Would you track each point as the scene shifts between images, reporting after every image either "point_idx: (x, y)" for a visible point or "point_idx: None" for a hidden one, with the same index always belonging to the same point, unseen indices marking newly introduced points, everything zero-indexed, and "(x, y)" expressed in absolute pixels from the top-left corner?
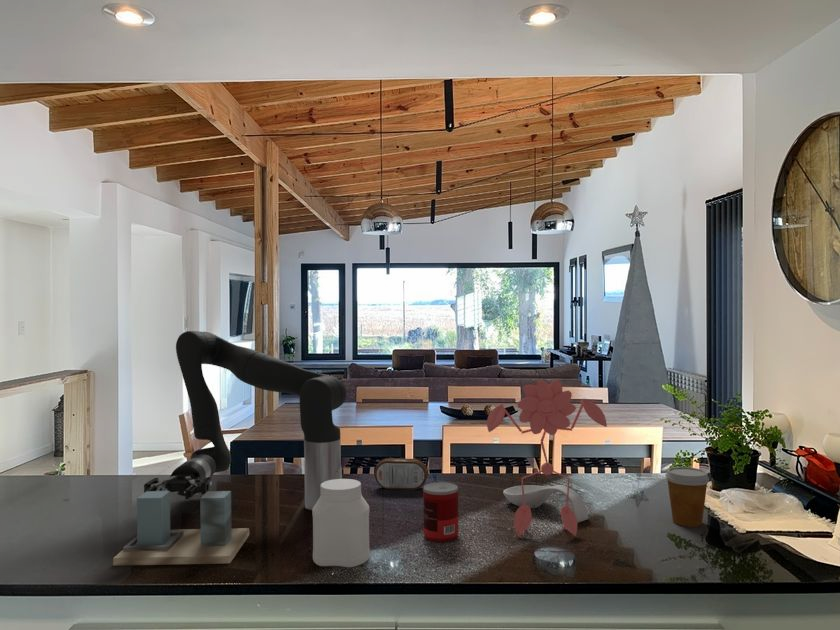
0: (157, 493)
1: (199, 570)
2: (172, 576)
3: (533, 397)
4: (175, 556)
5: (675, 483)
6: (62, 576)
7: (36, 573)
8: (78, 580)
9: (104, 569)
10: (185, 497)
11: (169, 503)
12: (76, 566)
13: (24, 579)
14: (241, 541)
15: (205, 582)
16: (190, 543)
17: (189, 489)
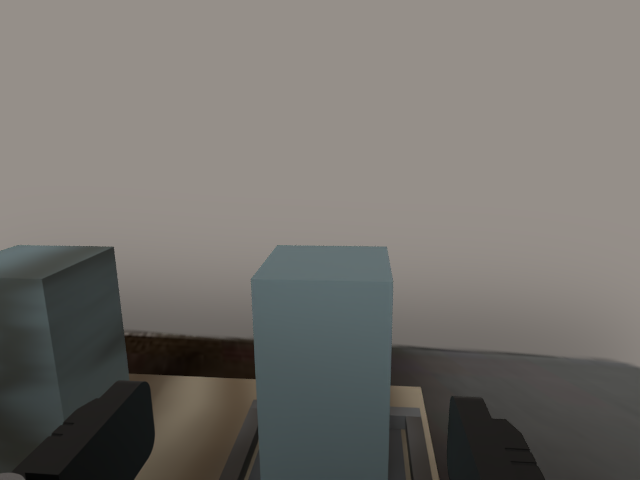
0: (312, 265)
1: (163, 371)
2: (231, 357)
3: None
4: (226, 379)
5: None
6: (520, 375)
7: (621, 392)
8: (457, 359)
9: (431, 394)
10: (152, 429)
11: (256, 342)
12: (541, 415)
13: (612, 372)
14: None
15: (159, 337)
16: (170, 454)
17: (107, 397)
